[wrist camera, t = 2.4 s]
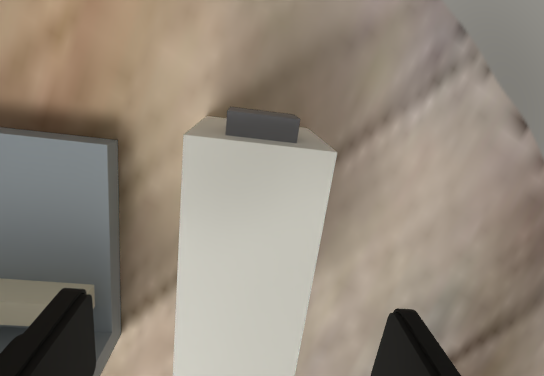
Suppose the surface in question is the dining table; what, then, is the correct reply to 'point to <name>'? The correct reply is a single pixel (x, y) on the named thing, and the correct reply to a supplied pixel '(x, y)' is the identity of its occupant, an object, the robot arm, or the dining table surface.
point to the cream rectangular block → (248, 242)
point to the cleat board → (59, 230)
